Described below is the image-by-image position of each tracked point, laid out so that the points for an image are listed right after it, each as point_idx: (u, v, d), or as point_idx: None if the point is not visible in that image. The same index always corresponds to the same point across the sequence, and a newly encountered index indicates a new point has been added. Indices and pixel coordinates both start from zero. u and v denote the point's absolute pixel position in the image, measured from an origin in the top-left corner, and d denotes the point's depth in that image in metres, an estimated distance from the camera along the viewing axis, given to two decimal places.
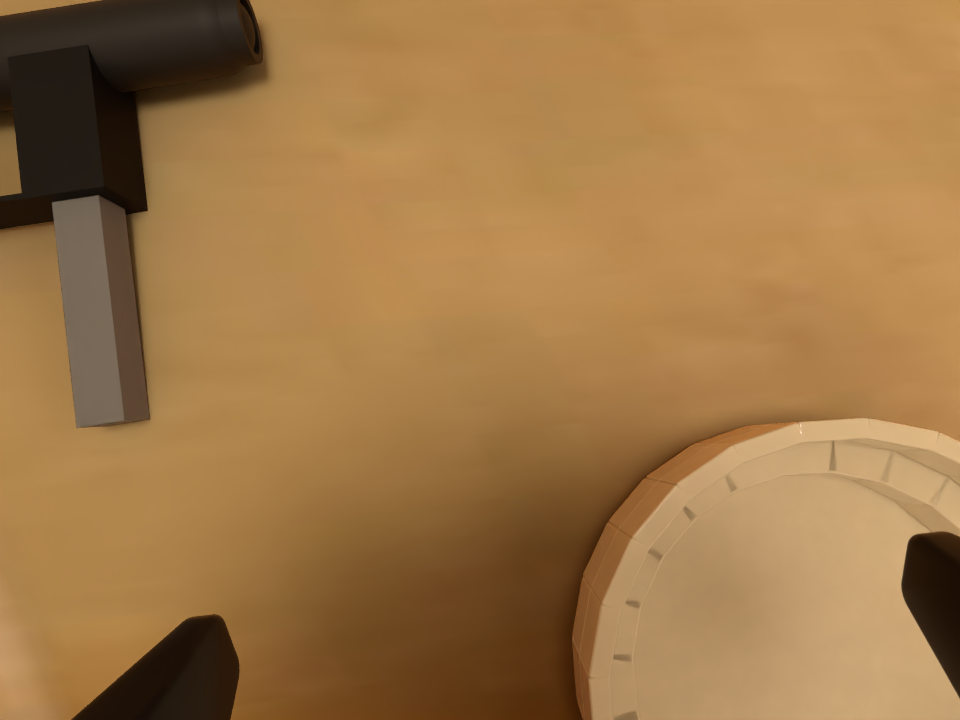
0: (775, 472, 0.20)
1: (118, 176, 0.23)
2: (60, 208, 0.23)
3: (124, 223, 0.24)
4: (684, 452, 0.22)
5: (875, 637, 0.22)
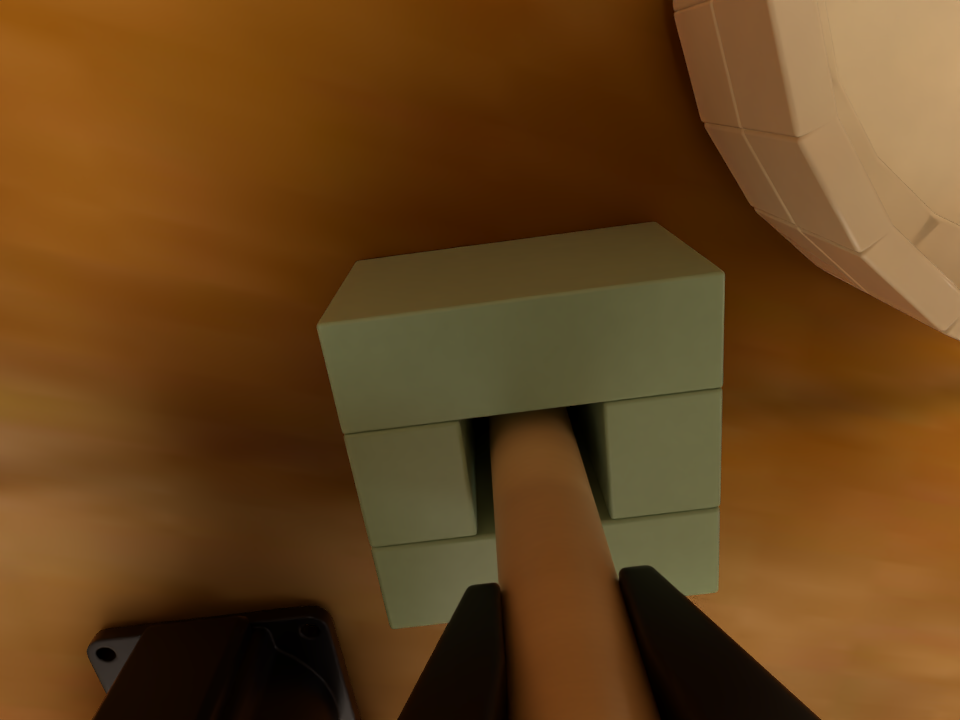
0: None
1: None
2: None
3: None
4: None
5: None
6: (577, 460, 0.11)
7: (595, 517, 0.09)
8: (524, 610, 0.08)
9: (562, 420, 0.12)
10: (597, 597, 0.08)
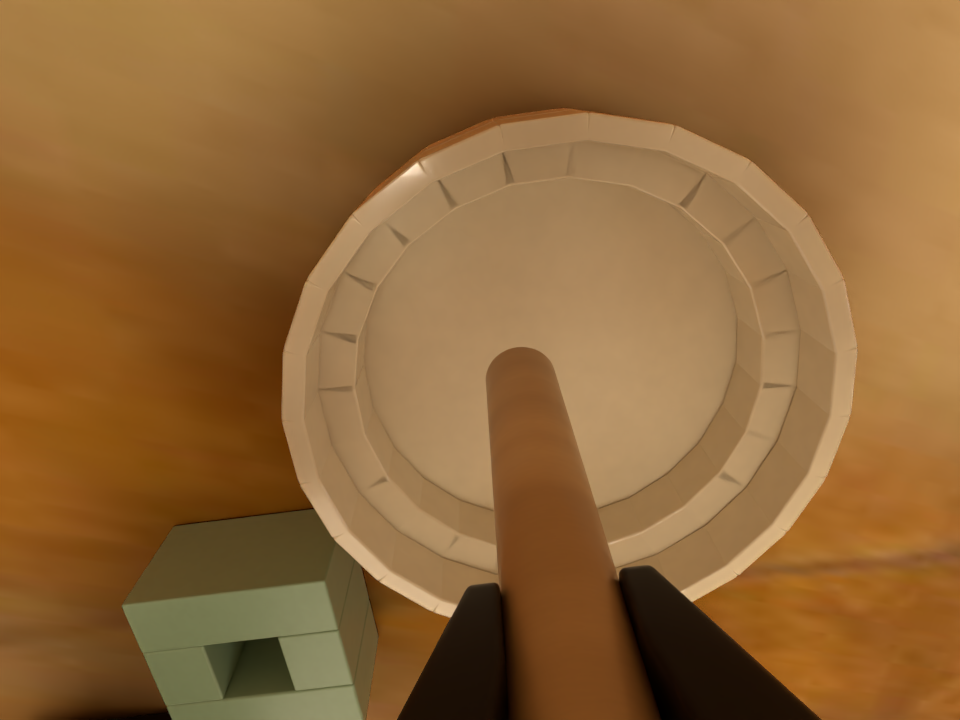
0: (624, 178, 0.17)
1: None
2: None
3: None
4: (548, 110, 0.18)
5: (623, 378, 0.21)
6: (577, 461, 0.11)
7: (596, 519, 0.09)
8: (525, 612, 0.08)
9: (562, 421, 0.12)
10: (598, 599, 0.08)
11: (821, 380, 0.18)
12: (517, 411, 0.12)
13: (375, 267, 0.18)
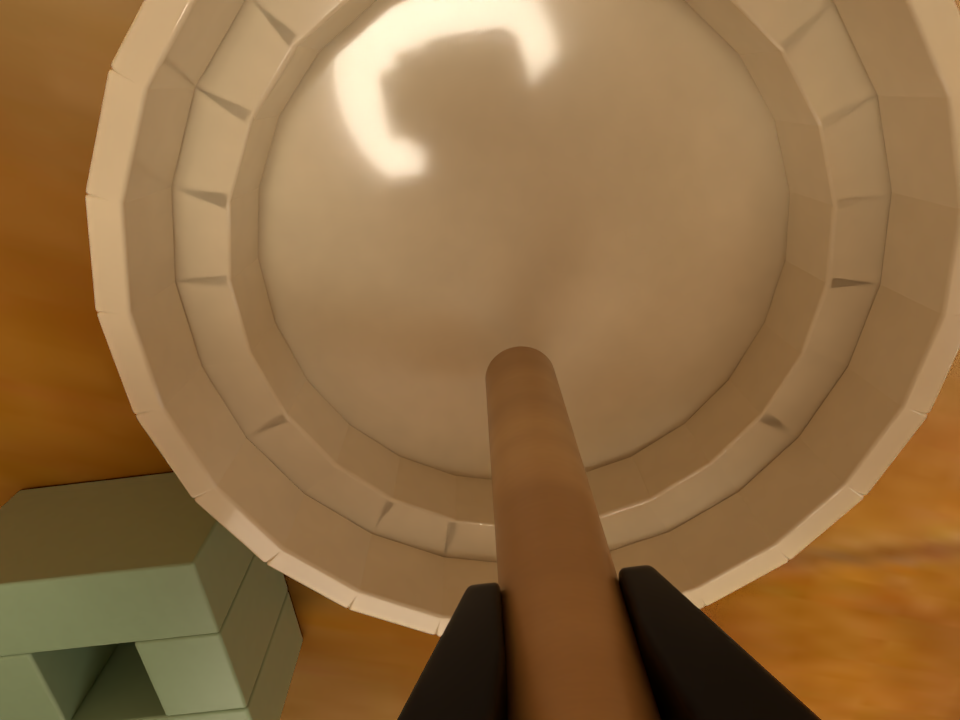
0: None
1: None
2: None
3: None
4: None
5: (625, 283, 0.15)
6: (577, 460, 0.11)
7: (595, 518, 0.09)
8: (524, 611, 0.08)
9: (562, 420, 0.12)
10: (597, 598, 0.08)
11: (928, 261, 0.12)
12: (516, 410, 0.12)
13: (247, 82, 0.12)
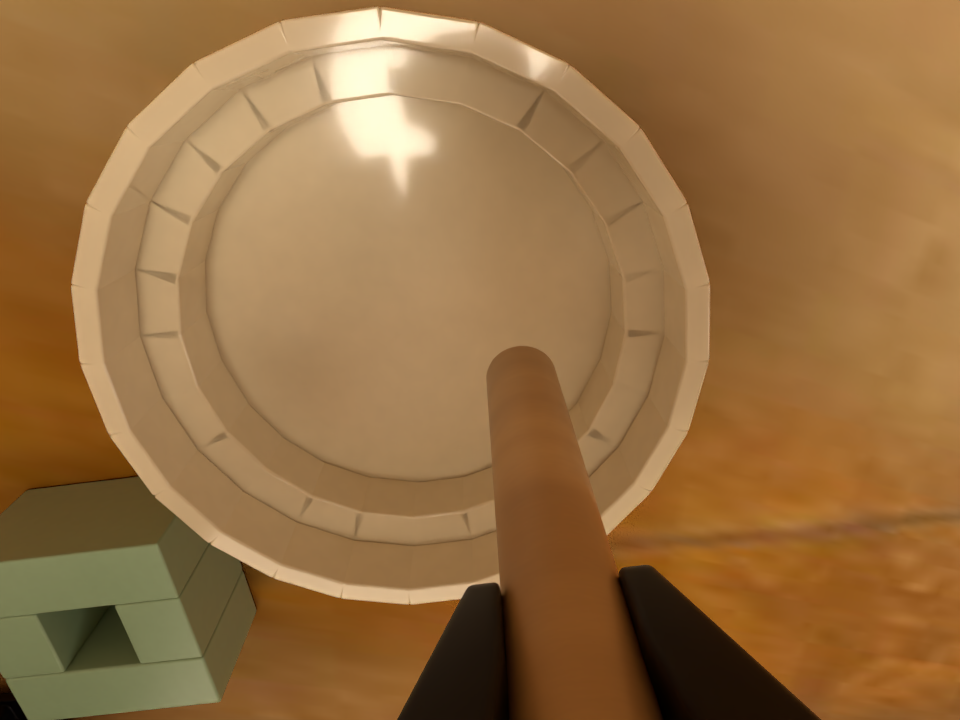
0: (452, 94, 0.15)
1: None
2: None
3: None
4: None
5: (489, 329, 0.20)
6: (578, 460, 0.11)
7: (597, 517, 0.09)
8: (526, 611, 0.08)
9: (563, 420, 0.12)
10: (600, 597, 0.08)
11: (678, 322, 0.16)
12: (517, 409, 0.12)
13: (187, 197, 0.16)
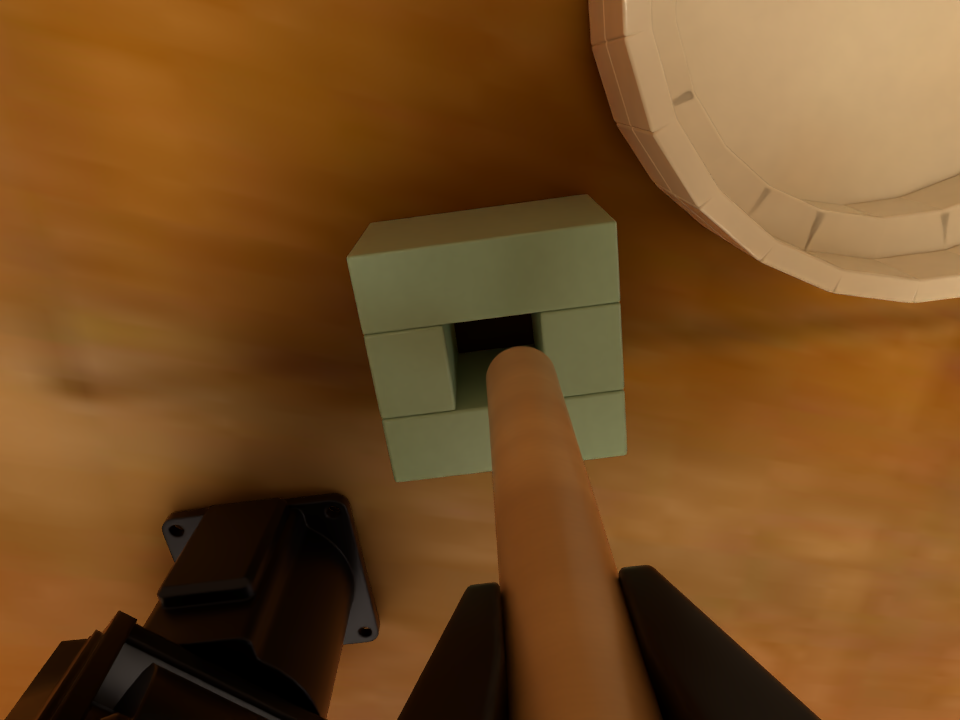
0: None
1: None
2: None
3: None
4: None
5: None
6: (578, 461, 0.11)
7: (597, 519, 0.09)
8: (526, 613, 0.07)
9: (563, 421, 0.12)
10: (600, 600, 0.07)
11: None
12: (517, 410, 0.12)
13: None
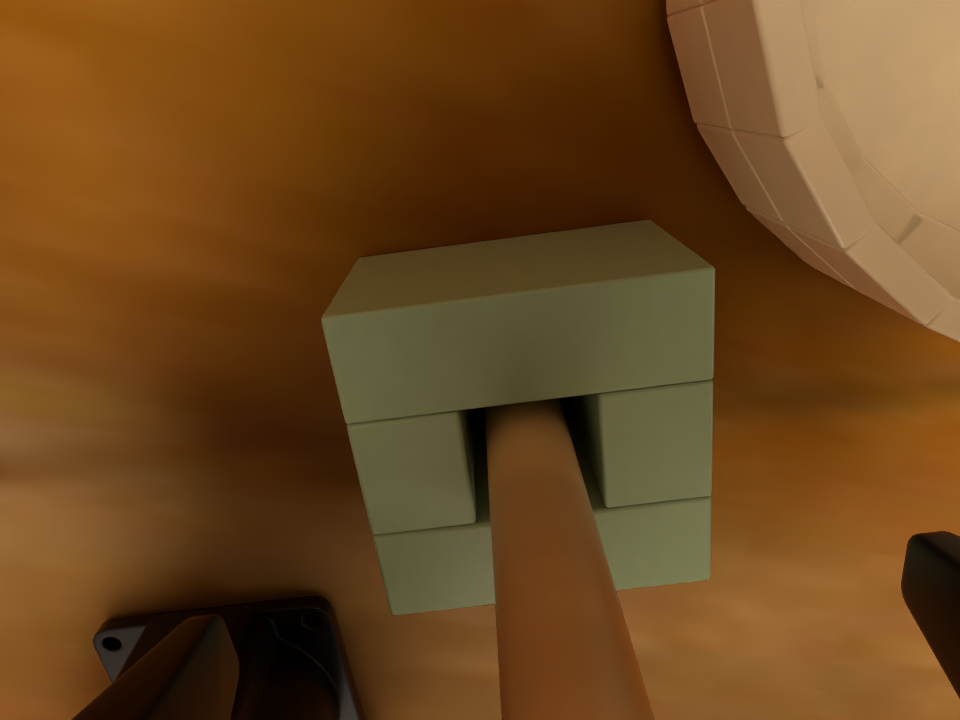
0: None
1: None
2: None
3: None
4: None
5: None
6: (570, 451, 0.11)
7: (586, 505, 0.10)
8: (517, 591, 0.08)
9: (556, 413, 0.12)
10: (587, 578, 0.08)
11: None
12: None
13: None
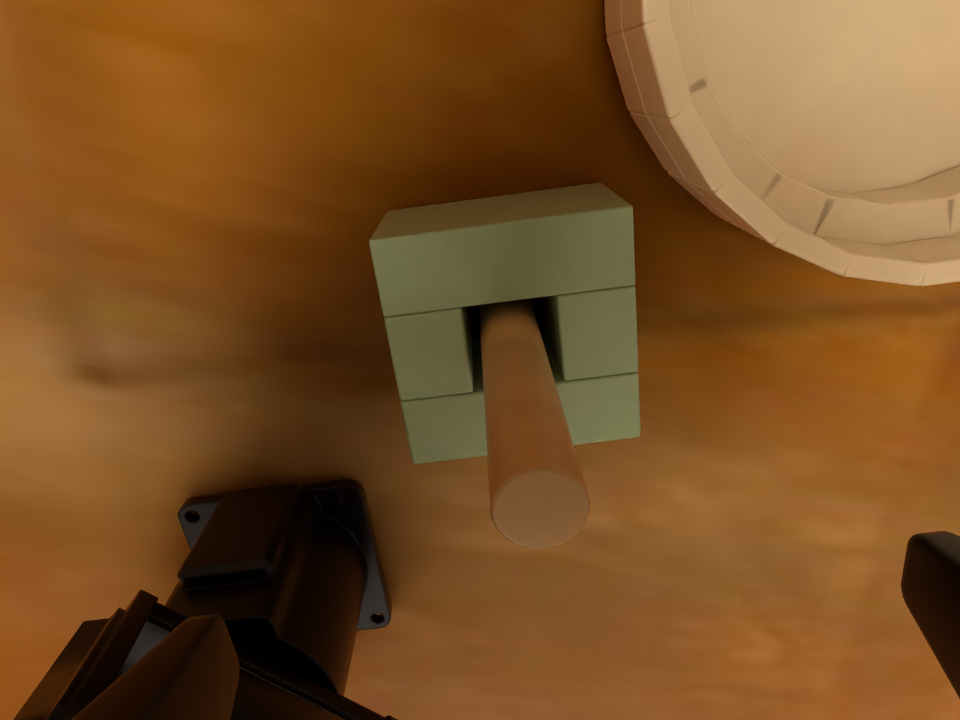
0: None
1: None
2: None
3: None
4: None
5: None
6: (537, 333, 0.16)
7: (545, 358, 0.15)
8: (497, 390, 0.13)
9: (529, 314, 0.17)
10: (539, 383, 0.13)
11: None
12: (498, 308, 0.17)
13: None
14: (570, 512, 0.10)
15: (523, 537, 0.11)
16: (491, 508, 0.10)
